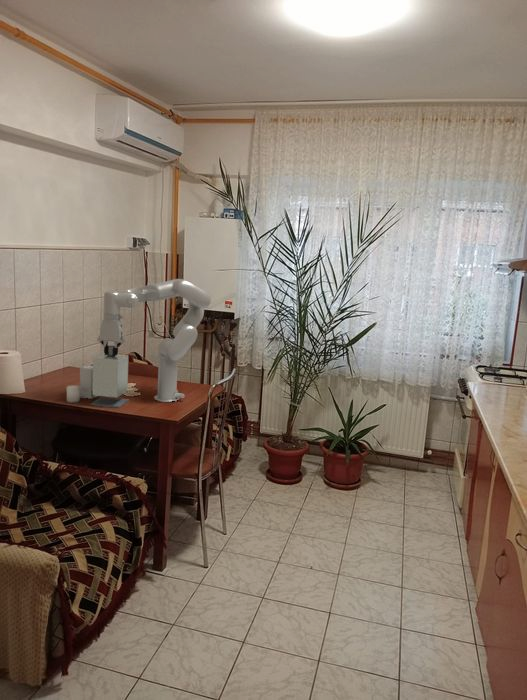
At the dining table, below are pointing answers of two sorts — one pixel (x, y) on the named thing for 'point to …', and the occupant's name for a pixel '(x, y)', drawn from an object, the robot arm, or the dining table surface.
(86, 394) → the skincare box
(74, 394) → the white round cylinder
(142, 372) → the dining table surface
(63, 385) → the dining table surface
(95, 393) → the beige box
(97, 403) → the mat
